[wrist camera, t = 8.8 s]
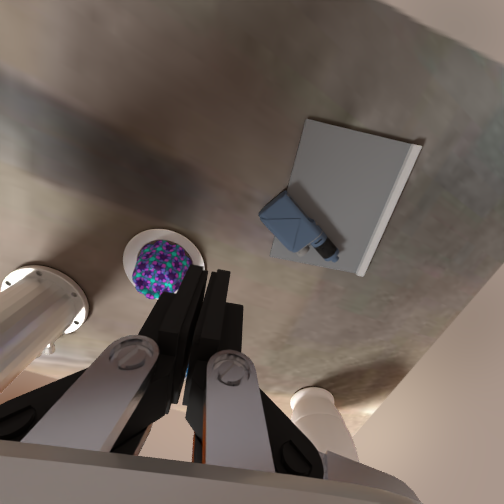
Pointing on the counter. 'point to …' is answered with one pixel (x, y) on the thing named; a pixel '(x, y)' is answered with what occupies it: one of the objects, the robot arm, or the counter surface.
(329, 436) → the jar
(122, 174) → the counter surface
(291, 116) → the counter surface
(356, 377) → the counter surface
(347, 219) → the grey flat slab
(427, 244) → the counter surface
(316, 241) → the vaping device
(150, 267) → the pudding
